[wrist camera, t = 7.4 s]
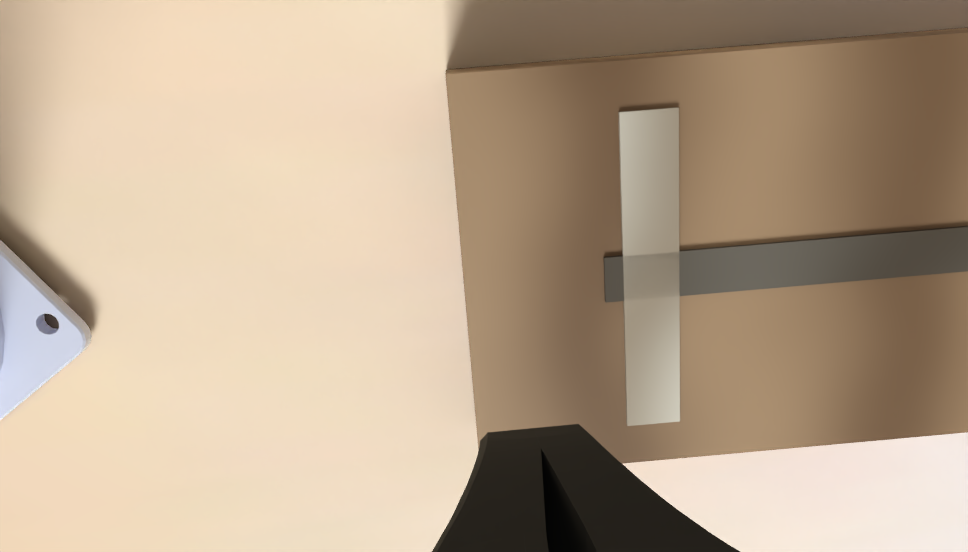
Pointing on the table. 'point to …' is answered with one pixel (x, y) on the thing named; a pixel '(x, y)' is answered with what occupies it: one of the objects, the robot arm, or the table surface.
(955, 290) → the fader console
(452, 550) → the robot arm
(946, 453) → the table surface
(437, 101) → the table surface
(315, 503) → the table surface
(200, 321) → the table surface
